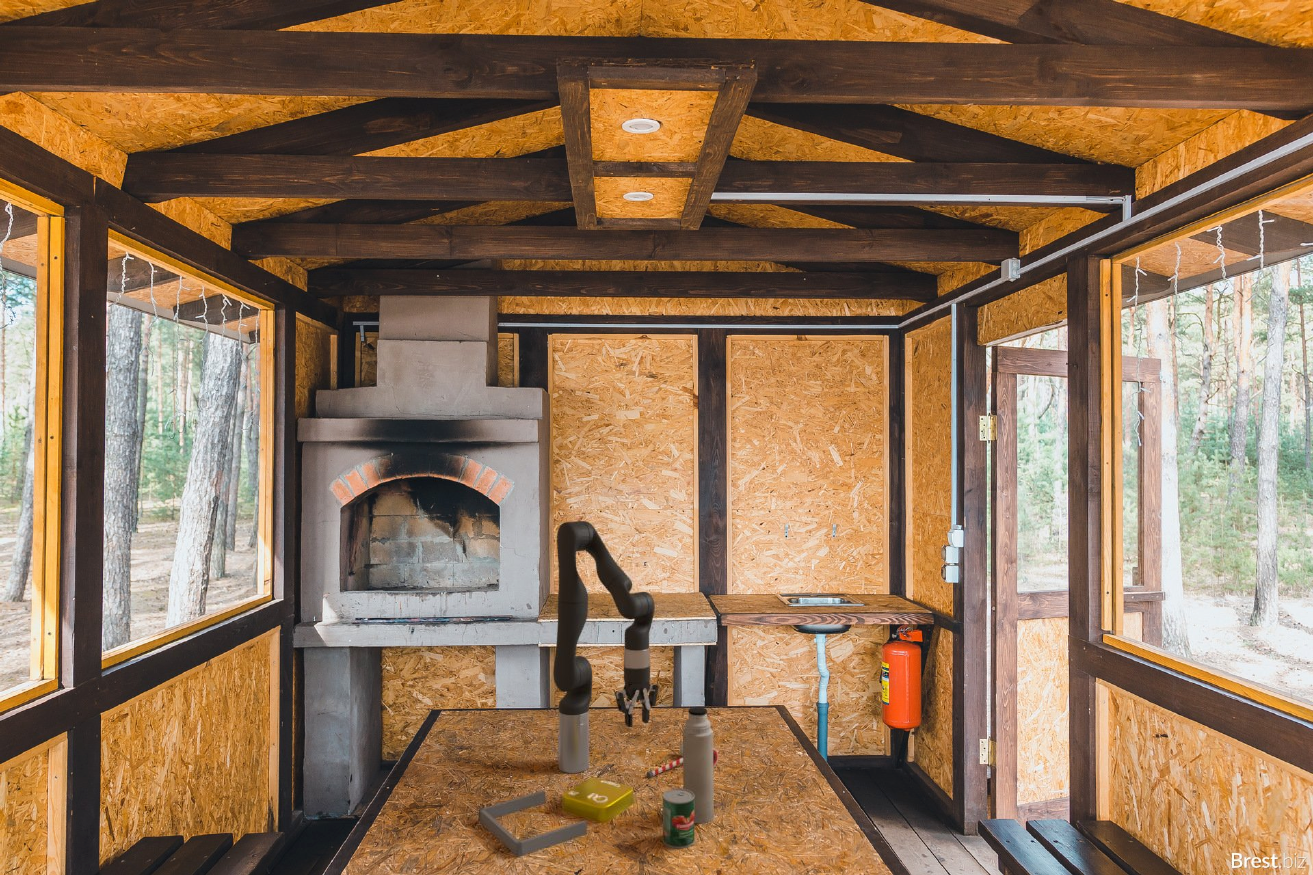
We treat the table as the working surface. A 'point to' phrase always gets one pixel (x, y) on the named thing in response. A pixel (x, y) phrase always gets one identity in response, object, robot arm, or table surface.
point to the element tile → (597, 800)
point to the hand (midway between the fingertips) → (637, 724)
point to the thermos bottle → (699, 763)
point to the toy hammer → (679, 761)
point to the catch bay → (532, 843)
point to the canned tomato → (678, 818)
